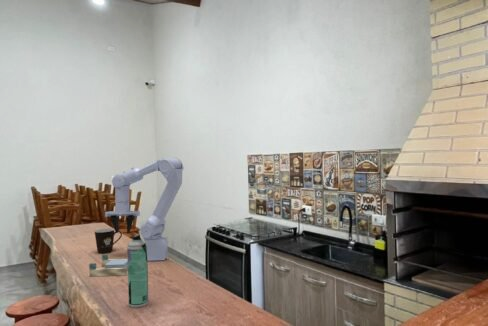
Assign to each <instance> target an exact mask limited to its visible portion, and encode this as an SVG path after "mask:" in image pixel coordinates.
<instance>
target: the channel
mask: <svg viewBox="0 0 488 326" xmlns="http://www.w3.org/2000/svg"><path fill="white" fill-rule="evenodd" d="M101 257H102V258H101V262H102V264H101V265H102V267H104V268H97V262H95V263H94V262H92V263H89V265H88V269H89V277H91V278H92V277H115V276H117V277H119V276H120V277H121V276H128V270H127V268H105V265H106V264H107V263H108V262H110V261H111V260H115V259H116V258H109V253H106V254H101Z"/></svg>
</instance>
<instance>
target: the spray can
mask: <svg viewBox="0 0 488 326" xmlns="http://www.w3.org/2000/svg"><path fill="white" fill-rule="evenodd" d="M140 235H141V234H133V238H132V239H131V241H130V242H129V243H127V247H126V248H127V249H126V250H127V252H126V255H127V259H128V270H127V279H128V280H127V282H128V288H127V289H128V306H129V307H131V308H135V309H136V308H142V307H145V306H148V305H149V271H148V269H149V268H148V266H149V265H148V261H147V245H146V244H147V243H146V242H145V241H144V239H143V238H141V236H140Z"/></svg>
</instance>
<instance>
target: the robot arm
mask: <svg viewBox="0 0 488 326" xmlns="http://www.w3.org/2000/svg"><path fill="white" fill-rule="evenodd" d="M184 168H185V167H184V164H183V162H182V161H181V159H180V158H178V157H173V158H171V157H170V158H168V157H164V158H161V159H157V160H156V161H154V162H153V161H152V162H151V163H149V164H147V165H144V166H143V167H141V168H139V167H135V166H133V167H131V169H130V170H127V171H123V172H122V174H118V173H117V174H115V175H114V176H113V177H112V180H111V183H112V186H113V187H114V188H115V189H114V192H115V194H114V195H115V197H114V198H115V199H114V200H115V210H114V211H105V212H104V217H105V218H107V217H110V218H109V220H110V222H111V223H112V226H113V229H114V232H116V233H115V234H118V233H119V231H120V227H119V223H120V217H125V218H126V226H127V227H126V232H127V234H129V233H131V229H132V225H133V222H134V220H135V218H136V217H140V215H141V213H140V212H141V211H140V210H130V190H131V188H130V187H131V185H133V184H135V183H137V182H139V181H142V180H143V179H144V176H147V175H149V174H151V173H154V172H160V173H161V174H162V175H163V177H164V178H165V180H166V182H167V184H166V186H165V188H164V190H163V192H162V194H161V196H160V198H159V200H158V201H157V203H156V207H155V208H154V210H153V212H152V214H151V215H150V217H148V218H147V219H146V221H145V222H144V224H142V225H141V227H140V229H139V232H140V235H141V237H142V240H143V241H145V242H146V243H147V244H146V245H147V262H151V261H153V262H155V261H165V260H166V259H167V258H168V256H169V254H168V253H169V251H168V248H169V247H168V238H167V237H165V236H163V233H164V231H165V227H166V223H167V221H166V217H167V215H168V212H169V211H170V209H171V206H172V205H173V202H174V200H175V198H176V196H177V194H178V193H179V190H180V188H181V186H182V185H183V171H184Z"/></svg>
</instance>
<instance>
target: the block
mask: <svg viewBox="0 0 488 326" xmlns="http://www.w3.org/2000/svg"><path fill="white" fill-rule="evenodd" d="M114 259H115V260H111V261H110V262H108V263H107V264H106V265H105V266H104V268H127V271H128V258H114Z"/></svg>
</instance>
